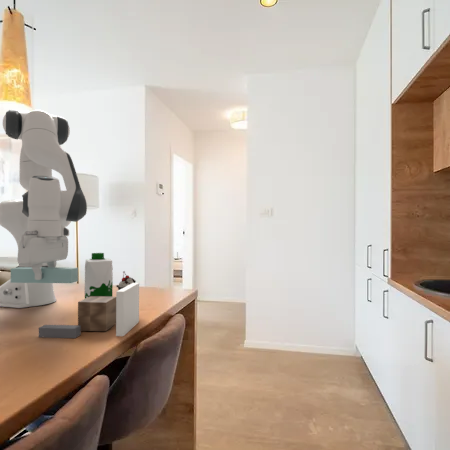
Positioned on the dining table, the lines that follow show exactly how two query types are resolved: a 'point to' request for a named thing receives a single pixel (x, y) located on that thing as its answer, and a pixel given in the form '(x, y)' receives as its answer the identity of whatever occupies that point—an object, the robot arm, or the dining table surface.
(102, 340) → the dining table surface
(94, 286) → the milk carton
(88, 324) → the block
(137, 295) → the wall
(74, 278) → the peg
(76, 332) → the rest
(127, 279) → the sundae
